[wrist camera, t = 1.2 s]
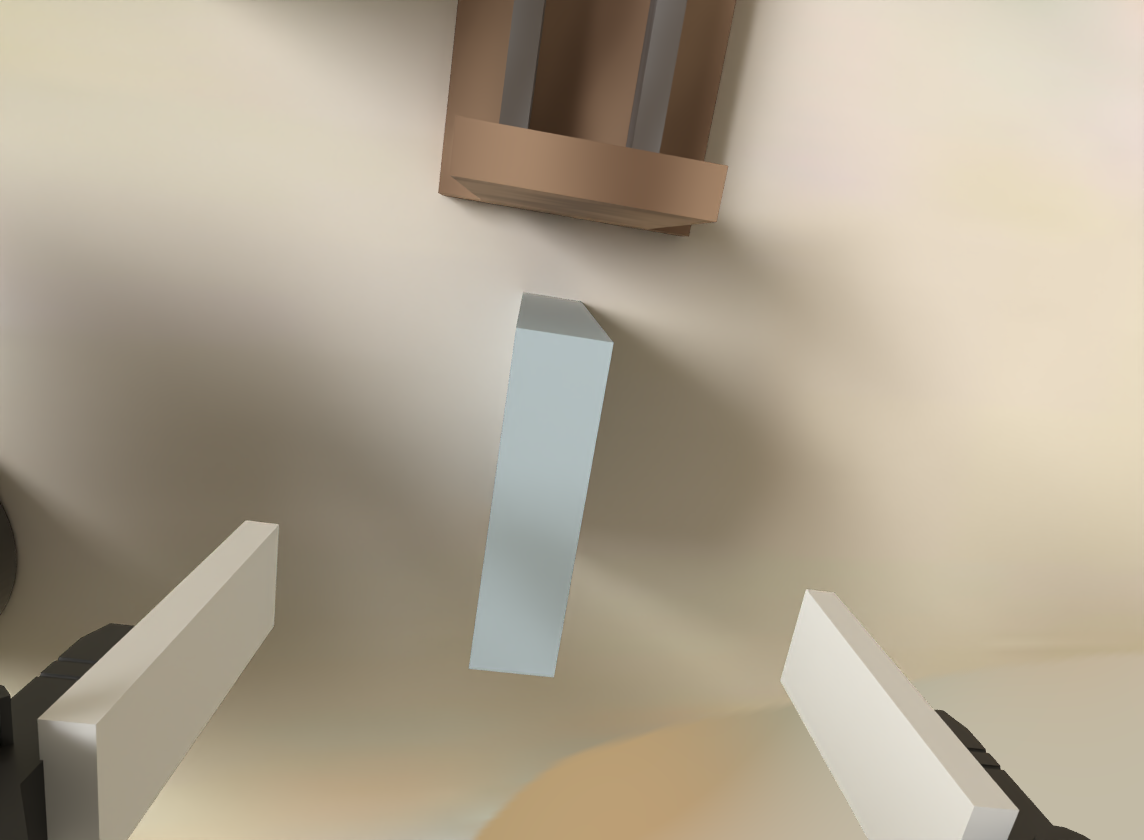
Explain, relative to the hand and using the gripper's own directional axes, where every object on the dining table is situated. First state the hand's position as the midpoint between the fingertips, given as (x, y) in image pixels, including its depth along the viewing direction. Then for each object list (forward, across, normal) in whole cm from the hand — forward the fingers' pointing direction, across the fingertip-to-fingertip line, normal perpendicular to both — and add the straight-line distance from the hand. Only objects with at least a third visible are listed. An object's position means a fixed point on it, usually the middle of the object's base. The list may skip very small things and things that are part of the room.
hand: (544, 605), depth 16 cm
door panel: (+19, 0, 0) cm, 19 cm away
